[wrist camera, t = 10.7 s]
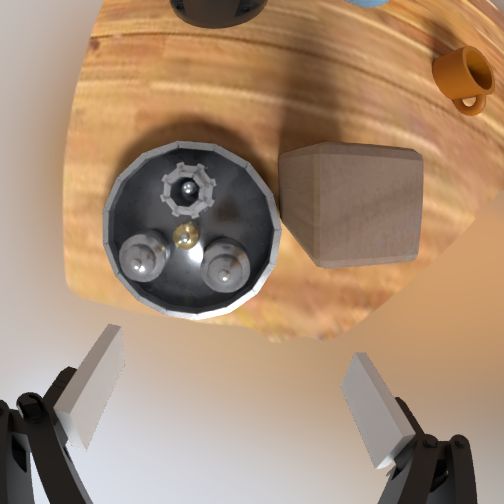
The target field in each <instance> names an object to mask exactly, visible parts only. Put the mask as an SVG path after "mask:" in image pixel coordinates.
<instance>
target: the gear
mask: <svg viewBox="0 0 504 504" xmlns="http://www.w3.org/2000/svg"><path fill="white" fill-rule="evenodd" d="M207 168H208V166H206V165H204V164H202V163H198V165H197V166H191V165H190V164H189V162H181V163H178V164H177V168H176V169H175V170H174V171H173V172H171V173H169V174H165V175H164V177H163V179H162V180H161V181H163V182H164V193H163V194H162V195H160V197H161V200H162V202H164V201H166V202H167V204H168V205H169V206H170V207H171V209H172V210H173V212H172V214H173V215H175V216H177V217H178V216H180V215H181V214H184V215H191V216H192V219H193V218H196V217H199V216H200V215H201V214H202V212H203V209H204V208H205V207H207V206H210V207H211V206H212V205H213V203H214V202H215V200H216V198H217V197H215V196H214V192H215V186H217V185H218V180H217V177H216V178H213V177H212V176H211V174H210V173H209V172H208V171H207ZM186 177H191V178H193V179H194V180H195V182H196V183H197V184H198V185H199V187H200V192H199V199H198V200H197V201H193V200H186V199H185V198H184V196H183V195H182V194H181V193H180V186H181V181H182V180H183V179H185V178H186Z"/></svg>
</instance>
